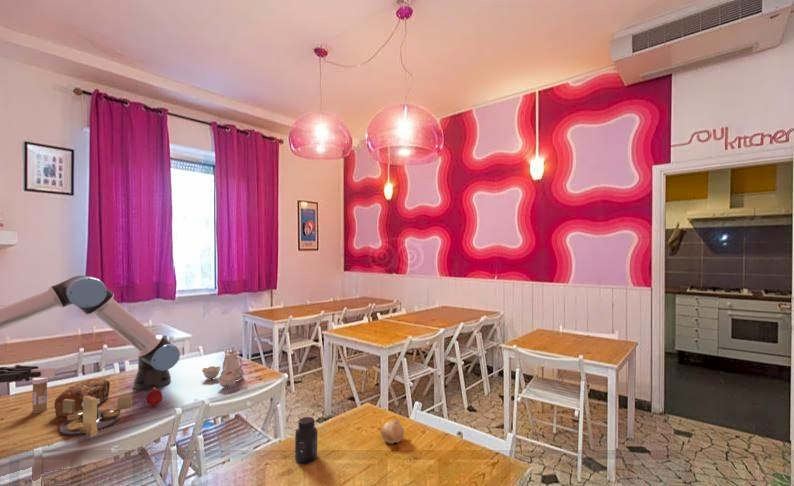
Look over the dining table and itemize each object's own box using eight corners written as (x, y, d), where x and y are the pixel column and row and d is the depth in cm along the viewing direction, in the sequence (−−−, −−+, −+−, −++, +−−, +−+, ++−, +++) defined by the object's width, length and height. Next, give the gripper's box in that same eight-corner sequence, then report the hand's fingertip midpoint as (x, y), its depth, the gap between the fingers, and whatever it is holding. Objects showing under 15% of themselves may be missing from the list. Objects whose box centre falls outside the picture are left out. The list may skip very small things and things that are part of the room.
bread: (83, 416, 148) (83, 390, 148) (52, 418, 146) (52, 392, 146) (111, 397, 167) (111, 374, 167) (84, 399, 165) (84, 376, 165)
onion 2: (401, 448, 126) (402, 426, 126) (378, 445, 127) (378, 424, 128) (405, 436, 134) (405, 416, 134) (383, 434, 135) (383, 414, 135)
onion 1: (165, 405, 158) (165, 386, 158) (151, 410, 153) (151, 391, 153) (156, 402, 161) (156, 384, 161) (142, 408, 156) (143, 388, 156)
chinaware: (196, 383, 189) (192, 350, 187) (227, 371, 202) (224, 340, 201) (226, 396, 172) (223, 361, 171) (258, 382, 186) (256, 349, 184)
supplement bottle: (290, 461, 118) (290, 422, 118) (304, 450, 124) (304, 413, 124) (308, 466, 115) (308, 427, 115) (321, 455, 121) (321, 417, 121)
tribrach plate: (132, 407, 156) (133, 387, 156) (130, 425, 141) (130, 402, 141) (63, 420, 144) (63, 398, 144) (51, 441, 129) (52, 416, 129)
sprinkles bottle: (46, 411, 152) (46, 378, 152) (30, 414, 149) (30, 380, 149) (48, 407, 155) (48, 374, 155) (33, 410, 153) (33, 377, 153)
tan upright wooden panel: (64, 428, 134) (64, 394, 134) (84, 421, 139) (85, 388, 139) (83, 439, 127) (84, 402, 127) (104, 431, 132) (104, 396, 132)
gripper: (-4, 379, 133) (68, 377, 136) (-44, 393, 120) (36, 391, 123) (-4, 358, 133) (68, 356, 136) (-44, 370, 120) (36, 368, 123)
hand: (53, 372), depth 129 cm, fingers closed
